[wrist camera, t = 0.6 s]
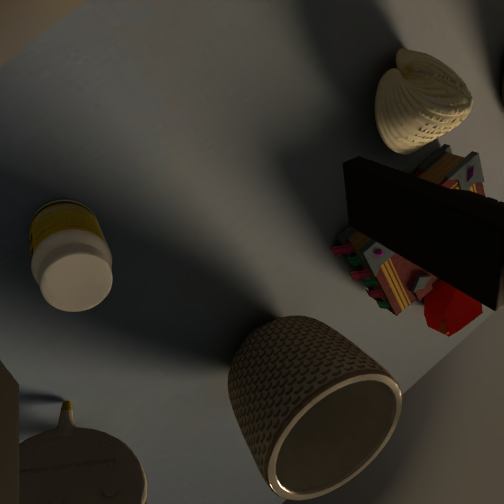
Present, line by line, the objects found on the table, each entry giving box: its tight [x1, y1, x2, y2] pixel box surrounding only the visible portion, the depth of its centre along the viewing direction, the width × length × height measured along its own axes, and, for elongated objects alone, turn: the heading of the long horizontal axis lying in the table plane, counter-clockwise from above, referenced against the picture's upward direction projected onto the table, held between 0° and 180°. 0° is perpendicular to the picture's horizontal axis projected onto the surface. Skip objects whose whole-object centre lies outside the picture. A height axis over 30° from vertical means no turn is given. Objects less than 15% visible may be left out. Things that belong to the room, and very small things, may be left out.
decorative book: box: [330, 144, 485, 316], centre depth 46 cm, size 11×16×5 cm
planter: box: [228, 316, 402, 500], centre depth 41 cm, size 14×14×13 cm
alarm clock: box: [19, 401, 147, 504], centre depth 33 cm, size 12×7×15 cm, turn 69°
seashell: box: [375, 48, 473, 154], centre depth 38 cm, size 8×8×8 cm
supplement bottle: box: [29, 200, 113, 312], centre depth 28 cm, size 5×5×8 cm
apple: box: [424, 279, 483, 336], centre depth 53 cm, size 7×7×8 cm
